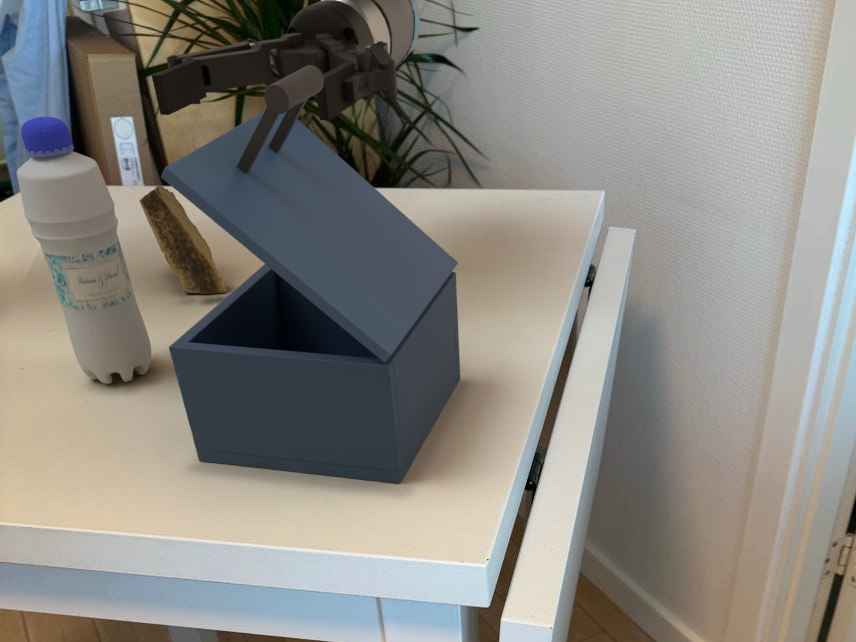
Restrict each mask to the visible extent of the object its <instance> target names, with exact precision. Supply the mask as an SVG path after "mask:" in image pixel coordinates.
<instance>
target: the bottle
mask: <svg viewBox="0 0 856 642" xmlns="http://www.w3.org/2000/svg"><path fill="white" fill-rule="evenodd" d="M20 134H21V139H22V142H23V145H24V148H25V151H26V154H27V155H28V156H30V158H29V159H28V160H26V161H25V162H24V163H23V164H21V166H19V167H18V169H17V171H16V176H17V177H16V178H17V182H18V186H19V191H20V196H21V203H22V208H23V212H24V217H25V219H26V220H27V222H28V224H29V226H30V229H31V231H30V232H31V234H32V236H33V237H34V238H35V239H36V240H37V241H38V242H39V244H40V247H41V250H42V253H43V257H44V260H45V261H46V265H47V268H48V272H49V274H50V277H51V280H52V283H53V286H54V289H55V292H56V294H57V298H58V301H59V304H60V306H61V309H62V312H63V316H64V319H65V323H66V327H67V331H68V336H69V339H70V343H71V346H72V349H73V352H74V355H75V358H76V360H77V363H78V365H79V367H80V368H81V370H82V372H83V373H84V374H85V375H86V376H87V377H88V378H89V379H92V380H98V381H100V382H101V383H102V384H107V385H108V384H112V382H113V376H112V375H113V374H115V373H117V374H118V375H120V377H121V379H122V381H123V382H125V383H127V382H130V381H132V380H133V377H134V370H135V372H136V373H137V374H138V375H141V376H142V375H145V374H146V373H147V372H148V371H149V370H150V365H151V359H152V345H151V340H150V337H149V334H148V330H147V328H146V327H147V326H146V324H145V321H144V319H143V315H142V313H141V310H140V307H139V305H138V303H137V299H136V296H135V292H134V289H133V285H132V281H131V278H130V273H129V270H128V266H127V263H126V260H125V256H124V252H123V248H122V246H121V242H120V238H119V236H118V235H119V234H118V225H119V219H118V217H117V216H116V211H115V210H116V209H115V202H114V200H113V198H112V196H111V193H110V191H109V188H108V185H107V184H106V181H105V179H104V176H103V173H102V171H101V169H100V166H99V164H98V162H97V161H96V160H95V159H93V158H91V157H90V156H89V157H88V156H86V155H83V154H81V153H79V152H76V151H74V150H75V146H74V142H73V139H72V136H71V132H70V130H69V128H68V126H67V123H65V122H64V121H63V120H62V119H60V118H57V117H53V116H38V117H34V118H31V119H28V120H26V121H25V122H24V123H22V126H21V128H20Z"/></svg>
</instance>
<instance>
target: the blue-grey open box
mask: <svg viewBox="0 0 856 642" xmlns="http://www.w3.org/2000/svg"><path fill="white" fill-rule="evenodd" d="M457 291H458V290H457V273H456V271H452V272H451V274H450V275H449V276H448V278H447V279H446V281H445V282H444V283H443V285H442V286H441V287H440V289H439V290H438V292H437V293H436V294H435V296H434V297H433V298H432V300H431V301H430V303H429V304H428V305H427V307H426V308H425V310H424V311H423V312H422V314H421V315H420V316H419V318H418V319H417V321H416V322H415V323H414V325H413V326H412V327H411V329H410V330H409V332H408V333H407V334H406V336H405V337H404V338H403V340H402V341H401V343H400V344H399V345H398V347H397V348H396V349H395V351H394V352H393V354H392V355H391V356H390V358H389V359H388V360H387V362H385V363H384V362H383V361H382V360H381V359H379V358H378V357H377V356H376V355H375V354H373V353H372V352H371V351H370V350H369V349H367V348H366V347H365V346H364V345H362V344H361V343H360V342H359V341H358V340H356V339H355V338H354V337H353V336H352V335H350V334H349V333H348V332H347V331H346V330H344V329H343V328H342V327H341V326H340V325H338V324H337V323H336V322H335V321H334V320H332V319H331V318H330V317H329V316H328V315H326V314H325V313H324V312H323V311H322V310H320V309H319V308H318V307H317V306H315V305H314V304H313V303H312V302H311V301H309V300H308V299H307V298H306V297H305V296H303V295H302V294H301V293H300V292H299V291H297V290H296V289H295V288H294V287H293V286H291V285H290V284H289V283H288V282H287V281H285V280H284V279H283V278H282V277H281V276H279V275H278V274H277V273H276V272H274V271H273V270H272V269H271V268H270V267H268V266H267V265H266V264H265V263H264V264H263V265H262V266H261V267H260V268H259V269H257V270H256V271H255V272H254V273H253V274H251V276H249V277H248V278H247V279H246V280H245V281H243V283H241V284H240V285H238V286H237V288H235V290H232V292H231V293H230V294H228V295H227V296H226V297H225V298H224V299H223V300H222V301H221V302H219V303H218V304H217V305H216V306H214V308H212V309H211V310H210V311H209V312H208V313H207V314H205V315H204V316H203V317H202V318H201V319H200V320H198V321H197V322H196V323H195V324H193V326H191V328H189V329H188V330H187V331H185V332H184V333H183V334H182V335H181V336H180V337H179V338H177V339H176V340H175V341H174V342H172V344H170V345H169V346H168V349H169V354H170V358H171V361H172V365H173V369H174V372H175V376H176V379H177V385H178V387H179V390H180V396H181V398H182V403H183V406H184V409H185V413H186V417H187V421H188V425H189V428H190V432H191V435H192V439H193V443H194V448H195V451H196V455H197V458H198V461H199V462H206V463H216V464H222V465H223V464H224V465H233V466H241V467H250V468H258V469H259V468H260V469H266V470H267V469H268V470H277V471H284V472H295V473H301V474H302V473H304V474H313V475H321V476H329V477H337V478H338V477H339V478H348V479H355V480H364V481H374V482H383V483H391V484H399V485H400V484H401V483H402V482H403V480H404V478H405V476H406V474H407V473H408V471H409V469H410V468H411V466H412V464H413V462H414V461H415V459H416V457H417V456H418V453H419V452H420V450H421V448H422V446H423V445H424V443H425V441H426V439H427V438H428V436H429V434H430V432H431V431H432V429H433V428H434V425H435V424H436V422H437V420H438V418H440V415H441V413H442V412H443V410H444V408H445V406H446V405H447V403H448V401H449V399H450V398H451V396H452V394H453V392H454V391H455V389H456V388H457V385H458V383H459V382H460V380H461V360H460V338H459V337H460V336H459V335H460V334H459V319H458V318H459V313H458V292H457Z"/></svg>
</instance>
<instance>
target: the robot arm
mask: <svg viewBox="0 0 856 642" xmlns="http://www.w3.org/2000/svg"><path fill="white" fill-rule="evenodd" d="M420 28H421V19H420V12H419V8H418V6H417V3H416V1H415V0H320V1H318V2H315V3H312V4H310V5H308V6H305V7H304V8H302V9H301V10H299V11H298V12H297V13H296V14H295V15H294V16H293V18H292V19H291V22H290V23H289V26H288V29H287V32H286V33H285V34H282V35H281V37H279V38H273V39H267V40H266V39H265V40H259V41H257V40H256V39H253V38H247V39H246V40H243V41H241V42H237V43H233V44H229V45H223V46H219V47H215V48H214V47H213V48H209V49H203V50H202V49H201V50H198V51H192V52H188V53H182V54H177V55H176V54H171V55H169V56H167V57H166V62H167V69H163V70H161V71H159V72H156V73H154V74H151V80H152V84H153V89H154V92H155V97H156V101H157V105H158V110H159V114H160V116H170V115H172V114H174V113H176V112H178V111H180V110H182V109H184V108H187V107H189V106H191V105H201V104H202V103H201V100H203V99H206V98H207V93H212V92H213V93H214V92H218V91H224V90H225V91H226V90H231V89H236V88H237V89H238V88H242V87H243V88H244V87H251V86H254V85H255V86H256V85H261V86H263V87H265V88H267V87H268V86H270V85H271V84H273V83H275V82H277V81H279V80H281V79H283V78H285V77H287V76H289V75H291V74H292V73H294V72H296V71H298V70H300V69H302V68H304V67H306V66H308V65H313V66H316V67H317V68H318V69H319V70H320V71H321V72H322V74H323V77H324V86H323V88H322V90H321V91H320V92H318V93H317V94H315V95H313V96H312V97H314V98H316V101H317V102H316V103H317V108H318V116H319V121H330V120H332V119H333V118H335V117H336V116H338V115H340V114H341V113H342V112H344V111H346V110H347V109H348V108H350V107H351V106H353V105H354V104H356V103H358V101H360V100H364V101H370V100H371V99H374V98H375V93H378V92H379V94H380V95H381V96H382V98H383V99H387V100H393V99H396V98H397V97H398V86H397V85H398V84H397V72H396V68H397V67H398V66H400V65H401V64H402V62H403V61H405V60H406V59H407V57H408V56H409V55H410V53H411V52H412V51H413V50H414V48H415V46H416V44H417V42H418V39H419V35H420V31H421V29H420ZM273 72H274V73H275V74H276V75H277V76H279V77H277V78H274V75H273Z"/></svg>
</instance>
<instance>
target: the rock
mask: <svg viewBox="0 0 856 642" xmlns="http://www.w3.org/2000/svg"><path fill="white" fill-rule="evenodd" d="M139 203H140V205H141V208H142V210H143V213H144V216H145V218H146V220H147V222H148V224H149V226H150V228H151V231H152V233H153V235H154V237H155V239H156V242H157V244H158V246H159V249H160V251H161V252H162V253H163V254H164V259H165V260H166V262H167V264H168V265H169V267H170V269H172V271H173V272H174V274H175V275H176V277H177V279H178V283H180V287H181V289H182V291H183V292H185V293H186V294H187V293H188V294H203V295H210V294H211V295H213V294H218V293H223V294H225V293H227V292H228V288H227V287H225V285H224V283H223V280H222V277H220V274H219V272H218V270H217V268H216V263H215V261H214V259H213V254H212V250H211V248H210V246H209V244H208V243H207V240H206V239H204V237H203V236H202V234H201V233H200V231H199V229H198V228H197V226H196V225H195V224H194V223H193V222H192V220H191V219H190V217H189V216H188V214H187V212H186V210H185V208H184V206H183V204H181V202H180V201H179V200H178V199H177V197H176V195H175V193H174V192H173V191H170V190H169V189H168V188H165V187H164V186H163V185H157V186H156V187H155V188H154V189H153V190H150V191H149V192H148V193H147V194H145V195H144V196H143V197H142V198H140V199H139Z"/></svg>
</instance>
